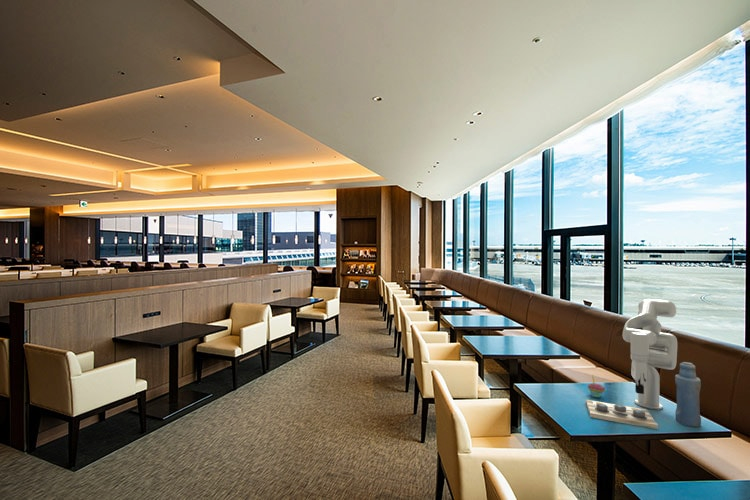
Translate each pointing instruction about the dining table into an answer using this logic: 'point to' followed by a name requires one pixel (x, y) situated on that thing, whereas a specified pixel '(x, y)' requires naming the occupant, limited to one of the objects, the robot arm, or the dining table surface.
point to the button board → (621, 416)
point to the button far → (602, 407)
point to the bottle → (688, 396)
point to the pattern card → (613, 406)
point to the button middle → (620, 408)
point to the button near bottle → (639, 413)
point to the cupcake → (596, 389)
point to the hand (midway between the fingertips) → (639, 392)
